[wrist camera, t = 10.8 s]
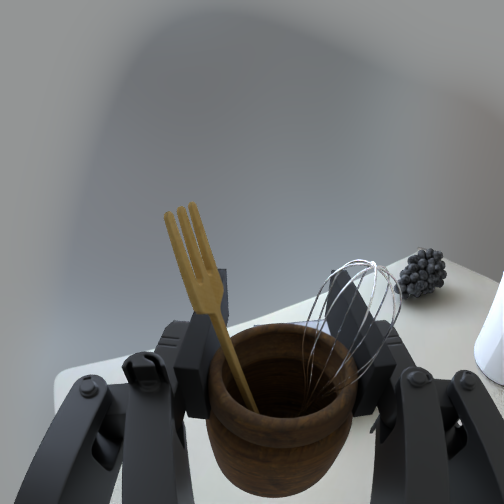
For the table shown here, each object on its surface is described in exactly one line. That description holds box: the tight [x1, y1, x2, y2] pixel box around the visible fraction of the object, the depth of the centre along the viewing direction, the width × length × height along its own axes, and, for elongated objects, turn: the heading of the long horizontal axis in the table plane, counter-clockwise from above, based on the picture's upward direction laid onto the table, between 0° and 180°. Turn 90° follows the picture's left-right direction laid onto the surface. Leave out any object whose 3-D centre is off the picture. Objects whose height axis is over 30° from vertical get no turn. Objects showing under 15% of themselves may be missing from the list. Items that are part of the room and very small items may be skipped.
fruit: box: [394, 249, 447, 299], centre depth 45 cm, size 9×8×15 cm
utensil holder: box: [164, 202, 402, 498], centre depth 9 cm, size 6×6×12 cm
